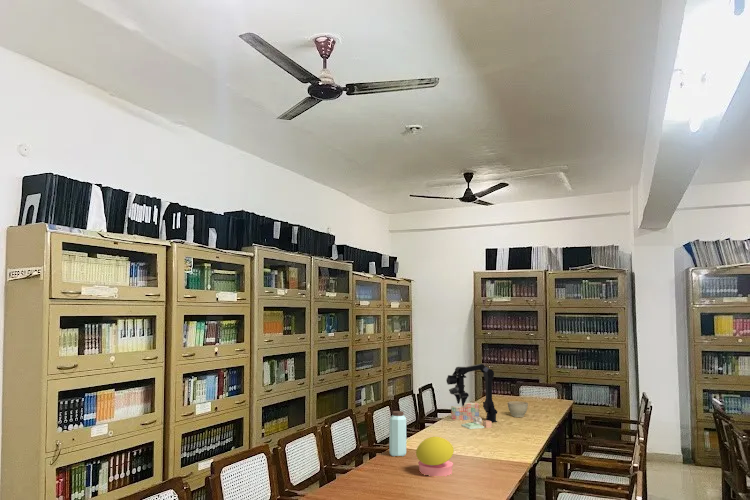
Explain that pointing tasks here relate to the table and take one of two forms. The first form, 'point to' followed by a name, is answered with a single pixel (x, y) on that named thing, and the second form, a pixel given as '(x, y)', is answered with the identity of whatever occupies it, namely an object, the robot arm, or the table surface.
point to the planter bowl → (517, 408)
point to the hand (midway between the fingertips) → (460, 404)
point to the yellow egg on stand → (435, 456)
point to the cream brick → (477, 420)
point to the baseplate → (472, 425)
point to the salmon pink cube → (487, 424)
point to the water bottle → (397, 434)
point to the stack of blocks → (465, 411)
